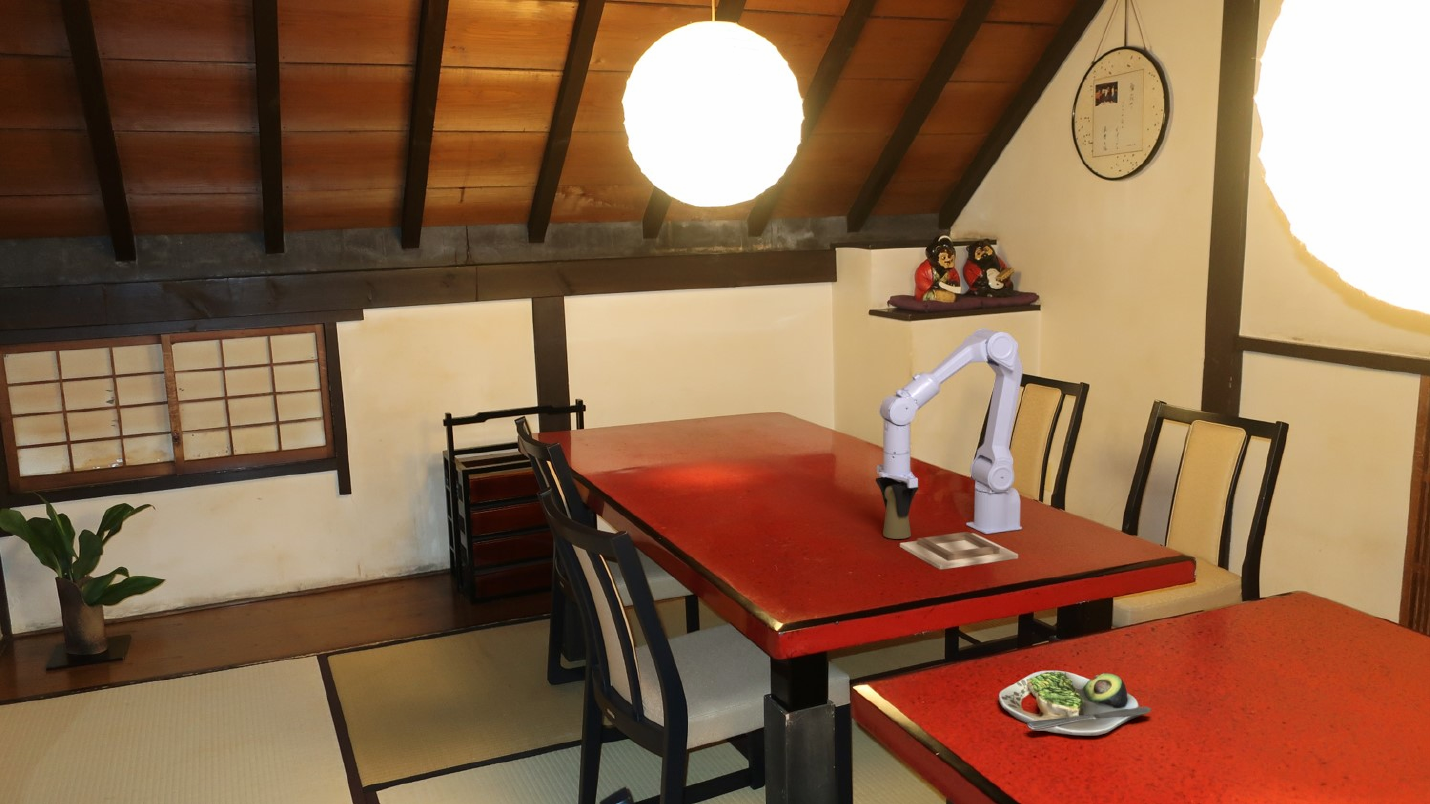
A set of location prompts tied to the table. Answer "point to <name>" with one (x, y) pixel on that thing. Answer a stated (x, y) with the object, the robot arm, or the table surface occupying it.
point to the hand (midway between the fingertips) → (896, 512)
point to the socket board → (957, 550)
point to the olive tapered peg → (894, 519)
